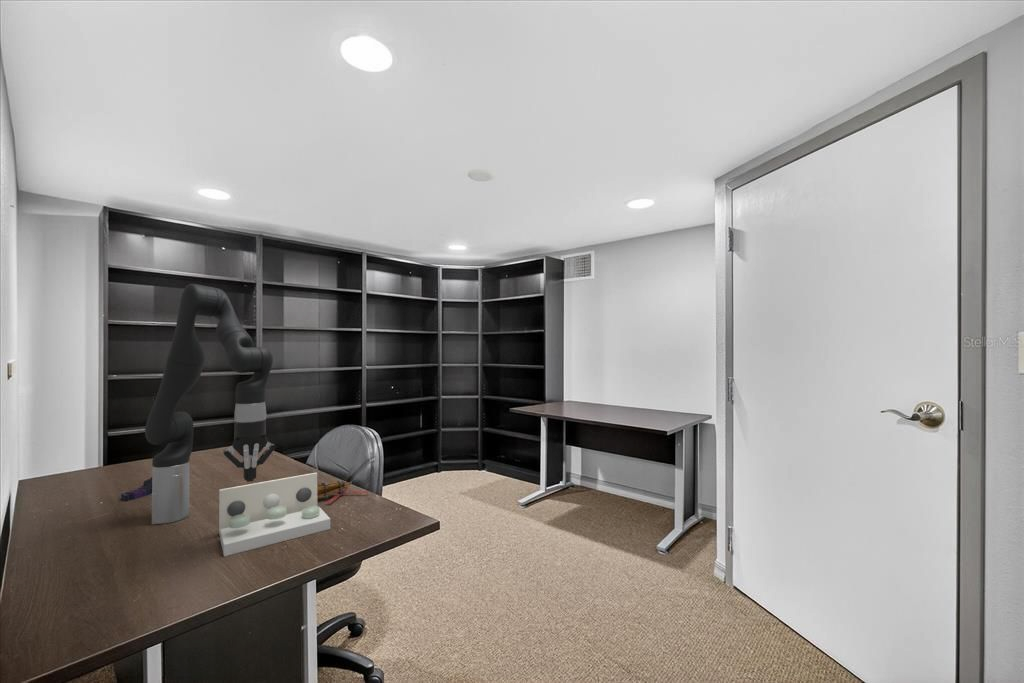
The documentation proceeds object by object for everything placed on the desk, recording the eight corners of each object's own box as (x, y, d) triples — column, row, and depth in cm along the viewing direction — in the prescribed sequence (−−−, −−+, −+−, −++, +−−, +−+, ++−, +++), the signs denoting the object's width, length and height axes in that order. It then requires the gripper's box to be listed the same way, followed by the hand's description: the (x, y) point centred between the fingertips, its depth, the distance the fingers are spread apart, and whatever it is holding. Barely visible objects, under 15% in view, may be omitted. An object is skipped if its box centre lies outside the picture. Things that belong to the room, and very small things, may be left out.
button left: (230, 529, 113) (230, 522, 113) (228, 524, 117) (228, 516, 117) (251, 525, 116) (251, 517, 116) (248, 519, 120) (248, 512, 120)
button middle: (268, 521, 118) (268, 513, 118) (265, 515, 122) (265, 508, 122) (287, 516, 121) (287, 509, 121) (284, 511, 125) (284, 504, 125)
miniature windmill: (278, 517, 133) (370, 492, 153) (273, 484, 137) (363, 464, 157) (269, 528, 143) (357, 503, 163) (264, 497, 147) (351, 476, 167)
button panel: (224, 556, 109) (224, 544, 109) (220, 540, 118) (220, 529, 118) (330, 528, 125) (330, 518, 125) (319, 516, 134) (319, 507, 134)
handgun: (111, 492, 162) (161, 481, 174) (124, 503, 150) (176, 491, 162) (111, 485, 162) (161, 474, 174) (124, 495, 150) (176, 483, 162)
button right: (303, 520, 124) (303, 513, 124) (300, 515, 128) (300, 508, 128) (321, 515, 127) (321, 509, 127) (317, 511, 131) (317, 504, 131)
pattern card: (219, 537, 120) (219, 491, 120) (218, 532, 123) (218, 487, 124) (317, 514, 136) (317, 473, 137) (314, 510, 139) (314, 470, 140)
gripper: (274, 414, 126) (273, 473, 125) (220, 419, 117) (219, 482, 117) (279, 418, 120) (279, 479, 120) (223, 423, 111) (222, 489, 111)
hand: (249, 480), depth 118 cm, fingers closed
